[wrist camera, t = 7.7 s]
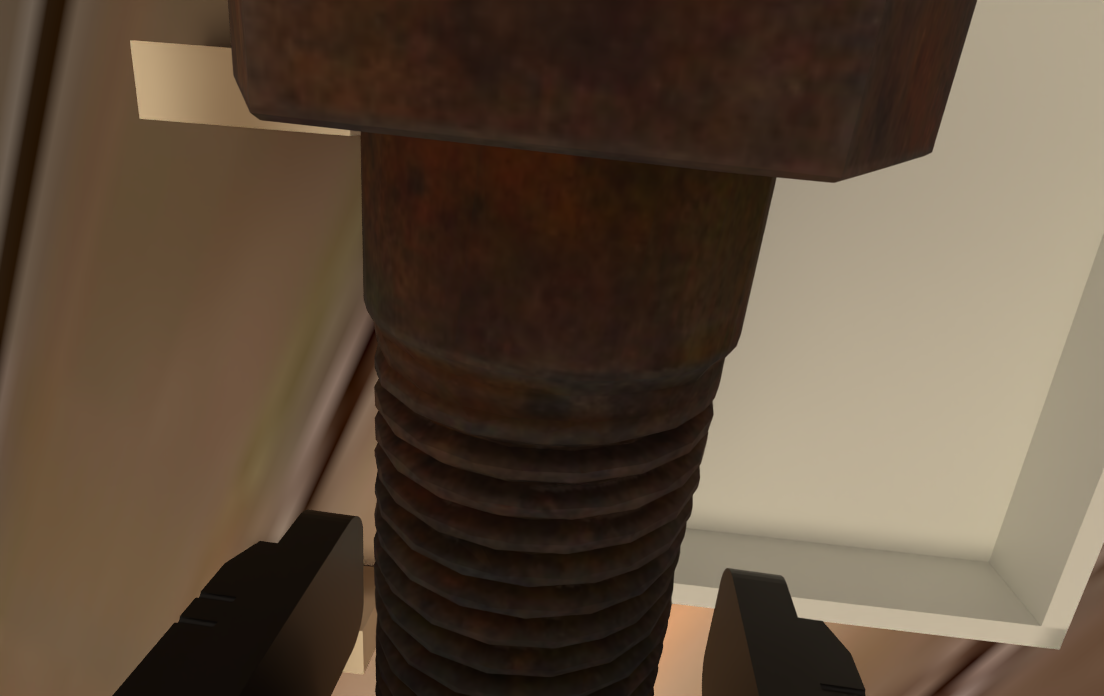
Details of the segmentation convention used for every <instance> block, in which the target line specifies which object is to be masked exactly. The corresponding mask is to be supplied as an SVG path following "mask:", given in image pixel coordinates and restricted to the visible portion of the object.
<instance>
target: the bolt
mask: <svg viewBox="0 0 1104 696" xmlns="http://www.w3.org/2000/svg"><path fill="white" fill-rule="evenodd" d="M976 3H977V0H228V9H229V23H230V37H231V51H232V65H233V76H234V78H235V80H236V83H237V85H238V87H239V89H240V92H241V94H242V96H243V98H244V100H245V103H246V105H247V107H248V109H249V112H250V113H251V114H252V115H254V116H255V117H256V118H258V119H259V120H262V121H271V122H280V123H289V124H298V125H307V126H316V127H325V128H334V129H343V130H351V131H360V132H361V180H362V235H363V289H364V302H365V305H366V308H367V311H368V313H369V314H370V316H371V318H372V319H373V321H374V328H375V332H376V337H377V341H378V347H377V351H376V354H375V369H376V372H377V375H378V378H379V379H378V381H377V383H376V385H375V386H374V390H375V406H376V408H377V409H378V410H379V411H378V413H377V415H376V417H375V433H376V440H377V442H378V444H377V446H376V448H375V458H376V463H377V469H378V472H377V478H376V484H375V494H376V498H377V503H376V508H375V514H374V515H375V526H376V530H377V531H376V534H375V537H374V557H375V560H376V561H375V564H374V581H375V605H376V611H377V624H376V681H377V682H376V689H375V692H376V696H654V688H653V687H654V684H655V680H656V677H657V673H658V664H659V660H660V657H661V654H662V650H663V640H664V637H665V634H666V630H667V626H668V619H669V616H670V611H671V605H672V593H673V586H674V571H675V569H676V566H677V564H678V561H679V556H680V546H681V543H682V541H683V539H684V536H685V532H686V526H687V521H688V519H689V518H690V516H691V512H692V508H693V494H694V493H695V491H696V490H697V488H698V486H699V481H700V464H701V462H702V458H703V455H704V451H705V447H706V443H707V438H708V430H709V427H710V424H711V421H712V418H713V416H714V411H713V400H714V398H715V396H716V394H717V391H718V388H719V385H720V380H721V376H722V371H723V366H724V361H725V358H726V357H727V356H728V355H729V354H730V353H731V352H732V351H733V350H734V349H735V348H736V347H737V344H738V341H739V338H740V336H741V332H742V328H743V323H744V319H745V315H746V310H747V306H748V301H749V297H750V293H751V288H752V284H753V279H754V275H755V271H756V266H757V262H758V257H759V253H760V249H761V244H762V240H763V235H764V231H765V227H766V222H767V218H768V214H769V209H770V205H771V200H772V196H773V192H774V187H775V183H776V178H777V177H778V178H788V179H798V180H808V181H818V182H828V183H836V182H839V181H843V180H846V179H850V178H853V177H857V176H860V175H864V174H867V173H871V172H874V171H877V170H881V169H884V168H887V167H890V166H894V165H897V164H900V163H904V162H907V161H910V160H913V159H917V158H920V157H923V156H926V155H928V154H930V153H932V151H933V148H934V144H935V141H936V138H937V134H938V131H939V128H940V124H941V121H942V117H943V114H944V111H945V107H946V104H947V101H948V97H949V94H950V90H951V87H952V84H953V80H954V77H955V74H956V70H957V67H958V64H959V60H960V57H961V53H962V50H963V47H964V43H965V40H966V37H967V33H968V30H969V26H970V23H971V20H972V16H973V13H974V10H975V6H976Z"/></svg>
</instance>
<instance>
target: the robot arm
mask: <svg viewBox="0 0 1104 696" xmlns="http://www.w3.org/2000/svg"><path fill="white" fill-rule="evenodd" d="M363 606H364V582H363V526H362V521H361V519H360V518H359V517H358V516H350V515H343V514H336V513H328V512H321V511H314V510H305V511H304V512H302V513H301V514H300V515H299V517H298V518H297V519H296V520H295V522H294V523H293V524H292V526H291V527H290V528H289V530H288V531H287V532H286V533H285V535H284V536H283V537H282V539H281V540H280V541H279V543H270V542H263V541H259V542H258V543H256V544H255V545H253V546H251V547H250V548H248V549H247V550H245V551H244V552H242V553H240V554H239V555H237V556H236V557H234V558H232V559H231V560H229V561H228V562H226V563H225V564H224V565H223V566H222V567H221V569H220V570H219V571H218V572H217V573H216V574H215V576H214V577H213V578H212V579H211V580H210V581H209V583H208V584H207V585H206V586H205V587H204V589H203V590H202V591H201V594H200V597H199V598H195V599H194V600H193V601H192V603H191V604H190V605H189V606H188V607H187V609H186V610H185V611H184V612H183V613H182V614H181V616H180V620H179V622H178V623H174V624H173V625H172V626H171V627H170V629H169V630H168V631H167V632H166V633H165V634H164V636H163V637H162V638H161V639H160V640H159V641H158V643H157V644H156V645H155V646H154V647H153V649H152V650H151V651H150V652H149V653H148V654H147V656H146V657H145V658H144V659H143V660H142V662H141V663H140V664H139V665H138V666H137V667H136V669H135V670H134V671H133V672H132V673H131V674H130V676H129V677H128V678H127V679H126V680H125V682H124V683H123V684H122V685H121V686H120V687H119V689H118V690H117V691H116V692H115V693H114V694H113V696H331V694H332V692H333V690H334V688H335V686H336V684H337V682H338V680H339V678H340V676H341V674H342V672H343V670H344V668H345V666H346V663H347V661H348V659H349V657H350V655H351V653H352V651H353V649H354V646H355V644H356V641H357V637H358V634H359V630H360V626H361V621H362V615H363ZM702 696H865V688H864V685H863V683H862V680H861V678H860V675H859V673H858V670H857V668H856V665H855V663H854V660H853V658H852V656H851V653H850V652H849V651H848V650H847V649H846V648H845V646H844V645H843V644H842V643H841V642H840V641H839V640H838V638H837V637H836V636H835V635H834V634H833V633H832V631H831V630H830V629H829V628H828V627H827V626H826V625H825V623H824V622H823V621H820V620H813V619H806V618H799V617H798V616H797V613H796V610H795V607H794V604H793V601H792V598H791V595H790V592H789V589H788V586H787V583H786V581H785V579H784V577H783V576H781V575H775V574H768V573H761V572H754V571H746V570H739V569H732V568H726V569H725V570H724V572H723V574H722V577H721V581H720V586H719V590H718V595H717V599H716V604H715V609H714V613H713V618H712V622H711V627H710V632H709V636H708V641H707V645H706V650H705V655H704V662H703V673H702Z"/></svg>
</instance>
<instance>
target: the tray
mask: <svg viewBox="0 0 1104 696" xmlns="http://www.w3.org/2000/svg"><path fill="white" fill-rule="evenodd" d="M713 411H714V416H713V418H712V421H711V424H710V427H709V430H708V438H707V443H706V447H705V451H704V455H703V458H702V462H701V464H700V481H699V486H698V488H697V490H696V491H695V493H694V494H693V508H692V512H691V516H690V518H689V519H688V521H687V526H686V532H685V536H684V539H683V541H682V543H681V546H680V556H679V561H678V564H677V566H676V569H675V571H674V586H673V593H672V604H681V605H689V606H697V607H706V608H714V609H715V604H716V599H717V595H718V590H719V586H720V581H721V577H722V574H723V572H724V570H725V569H726V568H732V569H739V570H746V571H754V572H761V573H768V574H775V575H781V576H783V577H784V579H785V581H786V583H787V586H788V589H789V592H790V595H791V598H792V601H793V604H794V607H795V610H796V613H797V616H798V617H799V618H806V619H813V620H820V621H824V622H832V623H841V624H849V625H857V626H866V627H874V628H883V629H891V630H899V631H908V632H916V633H925V634H933V635H942V636H950V637H958V638H967V639H975V640H984V641H992V642H1000V643H1009V644H1017V645H1026V646H1034V647H1043V648H1051V649H1059V650H1060V647H1061V645H1062V642H1063V640H1064V637H1065V635H1066V633H1067V630H1068V628H1069V625H1070V623H1071V621H1072V618H1073V616H1074V613H1075V611H1076V608H1077V606H1078V604H1079V601H1080V599H1081V596H1082V594H1083V591H1084V589H1085V587H1086V584H1087V582H1088V579H1089V577H1090V574H1091V572H1092V570H1093V567H1094V565H1095V562H1096V560H1097V557H1098V555H1099V553H1100V550H1101V548H1102V545H1103V543H1104V0H977V3H976V6H975V10H974V13H973V16H972V20H971V23H970V26H969V30H968V33H967V37H966V40H965V43H964V47H963V50H962V53H961V57H960V60H959V64H958V67H957V70H956V74H955V77H954V80H953V84H952V87H951V90H950V94H949V97H948V101H947V104H946V107H945V111H944V114H943V117H942V121H941V124H940V128H939V131H938V134H937V138H936V141H935V144H934V148H933V151H932V153H930V154H928V155H926V156H923V157H920V158H917V159H913V160H910V161H907V162H904V163H900V164H897V165H894V166H890V167H887V168H884V169H881V170H877V171H874V172H871V173H867V174H864V175H860V176H857V177H853V178H850V179H846V180H843V181H839V182H836V183H828V182H818V181H808V180H798V179H788V178H778V177H777V178H776V183H775V187H774V192H773V196H772V200H771V205H770V209H769V214H768V218H767V222H766V227H765V231H764V235H763V240H762V244H761V249H760V253H759V257H758V262H757V266H756V271H755V275H754V279H753V284H752V288H751V293H750V297H749V301H748V306H747V310H746V315H745V319H744V323H743V328H742V332H741V336H740V338H739V341H738V344H737V347H736V348H735V349H734V350H733V351H732V352H731V353H730V354H729V355H728V356H727V357H726V358H725V361H724V366H723V371H722V376H721V380H720V385H719V388H718V391H717V394H716V396H715V398H714V400H713Z"/></svg>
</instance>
